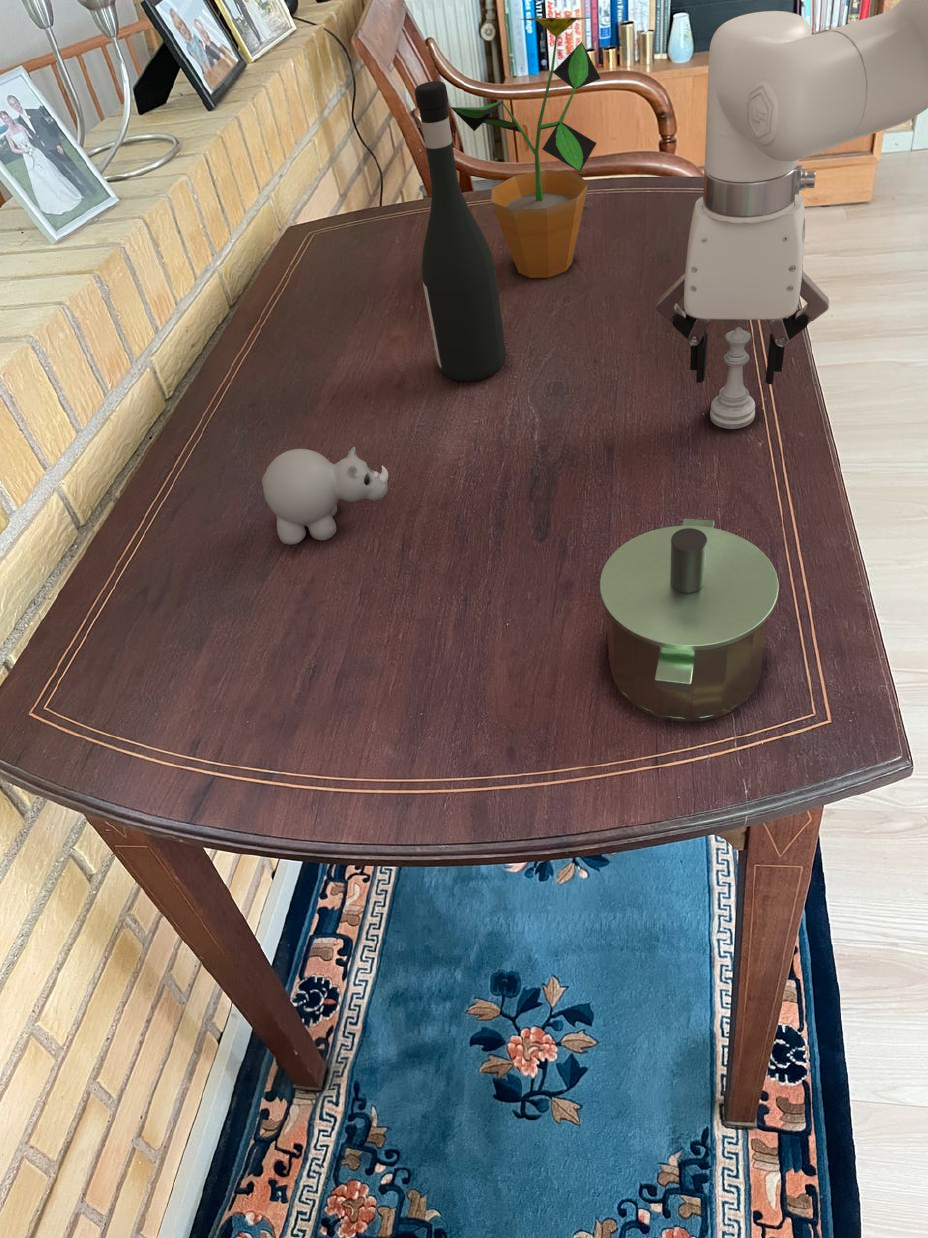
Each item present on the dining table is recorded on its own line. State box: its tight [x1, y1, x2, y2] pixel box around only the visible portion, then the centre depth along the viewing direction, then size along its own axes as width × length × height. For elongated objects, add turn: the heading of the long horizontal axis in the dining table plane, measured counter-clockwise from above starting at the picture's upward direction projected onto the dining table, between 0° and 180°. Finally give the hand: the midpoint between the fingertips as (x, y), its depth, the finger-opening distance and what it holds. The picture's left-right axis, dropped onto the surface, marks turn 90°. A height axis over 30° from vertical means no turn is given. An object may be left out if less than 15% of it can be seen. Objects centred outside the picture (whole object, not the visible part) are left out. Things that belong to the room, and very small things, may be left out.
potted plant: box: [450, 17, 601, 279], centre depth 113 cm, size 18×19×30 cm
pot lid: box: [599, 525, 780, 650], centre depth 64 cm, size 12×12×5 cm
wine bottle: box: [414, 80, 507, 383], centre depth 97 cm, size 8×8×30 cm
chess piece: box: [709, 326, 756, 430], centre depth 90 cm, size 4×4×10 cm
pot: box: [606, 518, 769, 723], centre depth 69 cm, size 11×17×8 cm
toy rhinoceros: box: [261, 446, 389, 546], centre depth 88 cm, size 7×12×8 cm, turn 93°
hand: (735, 374), depth 90 cm, fingers open, 5 cm apart
